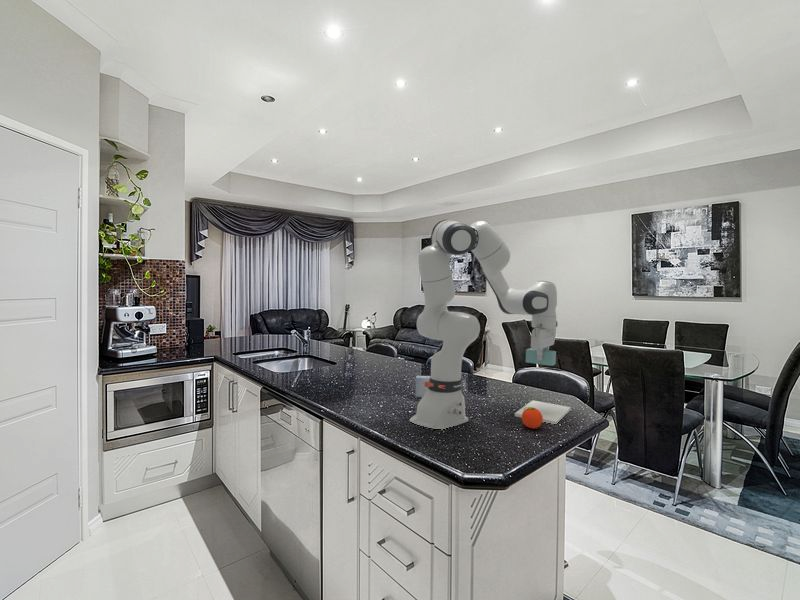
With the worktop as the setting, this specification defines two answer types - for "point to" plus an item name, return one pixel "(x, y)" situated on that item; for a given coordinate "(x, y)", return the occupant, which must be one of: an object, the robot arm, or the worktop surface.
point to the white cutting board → (547, 411)
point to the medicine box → (421, 385)
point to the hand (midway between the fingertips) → (542, 358)
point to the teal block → (548, 357)
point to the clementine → (532, 417)
